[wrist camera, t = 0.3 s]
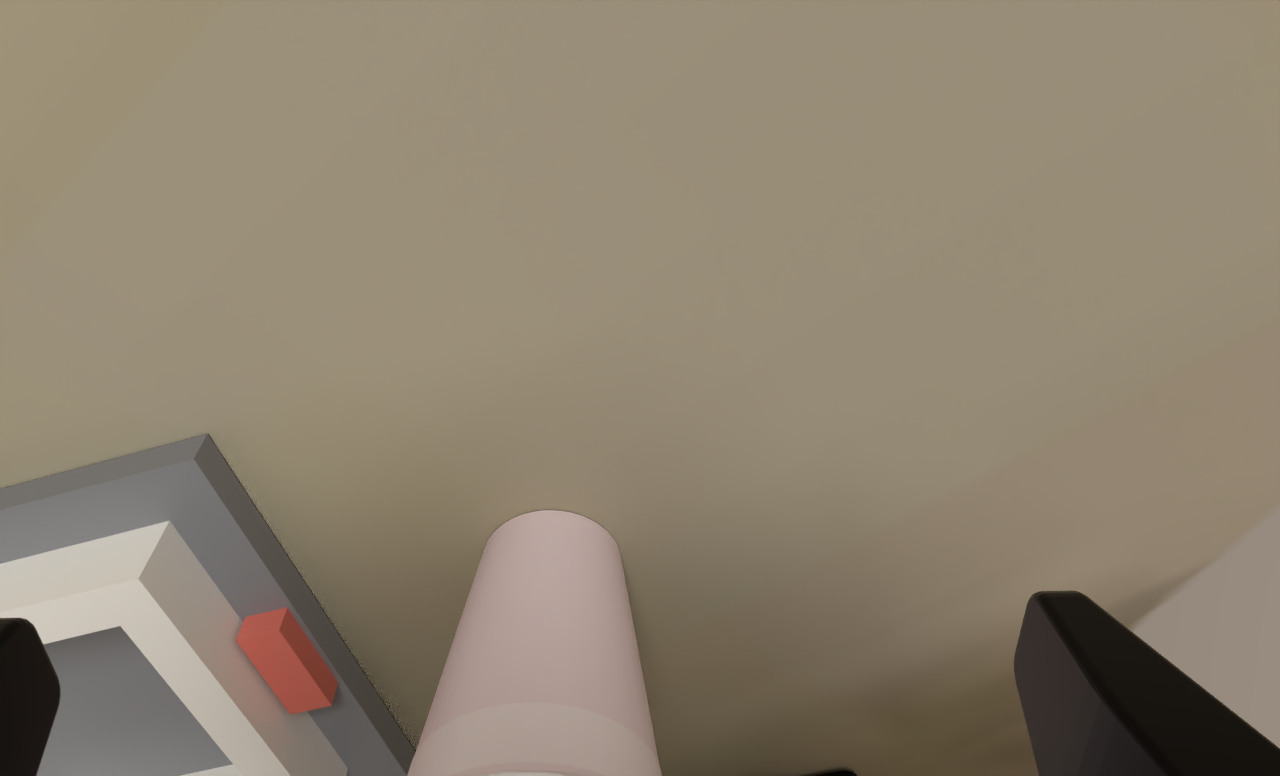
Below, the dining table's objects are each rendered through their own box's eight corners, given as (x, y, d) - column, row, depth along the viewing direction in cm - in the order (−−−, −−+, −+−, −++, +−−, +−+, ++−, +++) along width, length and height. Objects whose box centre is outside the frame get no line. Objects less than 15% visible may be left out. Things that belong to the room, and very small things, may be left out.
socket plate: (421, 760, 32) (404, 850, 30) (49, 838, 34) (3, 929, 31) (207, 433, 25) (162, 515, 23) (-247, 554, 27) (-334, 642, 24)
